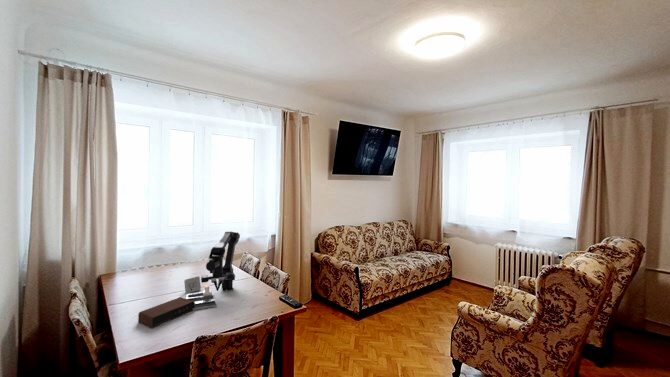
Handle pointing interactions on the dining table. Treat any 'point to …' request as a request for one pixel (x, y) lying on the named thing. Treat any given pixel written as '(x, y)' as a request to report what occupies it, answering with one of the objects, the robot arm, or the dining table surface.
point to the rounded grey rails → (205, 306)
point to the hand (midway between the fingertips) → (217, 290)
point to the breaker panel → (201, 298)
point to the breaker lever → (206, 290)
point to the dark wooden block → (165, 312)
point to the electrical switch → (192, 284)
